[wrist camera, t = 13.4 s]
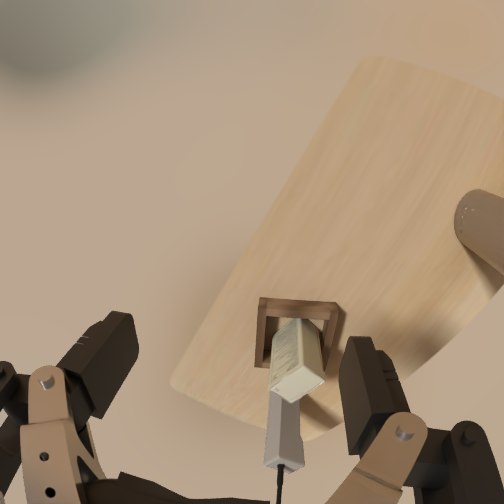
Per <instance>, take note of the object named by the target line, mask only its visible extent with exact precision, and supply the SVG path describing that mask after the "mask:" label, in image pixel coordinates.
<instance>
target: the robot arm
mask: <svg viewBox="0 0 504 504" xmlns="http://www.w3.org/2000/svg"><path fill="white" fill-rule="evenodd" d="M454 226H455V232H456V235H457V237H458V239H459V240H460V242H461V243H462V244H464V245H465V246H466V247H468V248H469V249H470V250H472V251H473V252H474V253H476V254H477V255H478V256H480V257H481V258H482V259H483V260H485V261H486V262H487V263H489V264H490V265H491V266H492V267H494V268H495V269H496V270H497V271H499V272H500V273H501V274H502V275H504V198H502V197H499V196H497V195H494V194H492V193H489V192H486V191H484V190H473V191H470V192H469V193H467V194H466V195H465V196H464V197H463V198H462V200H461V201H460V203H459V205H458V207H457V210H456V213H455V220H454ZM138 353H139V344H138V340H137V335H136V330H135V325H134V320H133V317H132V315H131V314H129V313H123V312H117V311H111V312H110V313H109V315H108V316H107V317H106V318H105V319H104V320H103V321H99V322H97V323H96V324H94V325H92V326H91V327H89V328H88V329H87V331H86V332H85V333H84V334H83V335H82V337H80V338H79V340H78V341H77V343H75V344H74V345H73V346H72V348H71V349H70V350H69V351H68V352H67V354H66V355H65V356H64V357H63V358H62V359H61V361H60V362H59V363H58V364H57V365H56V366H44V367H41V368H39V369H37V370H36V371H35V372H33V374H32V375H24V374H17V373H16V371H15V369H14V367H13V366H12V364H11V363H9V362H6V361H0V411H1V410H2V409H4V410H5V412H6V413H7V415H8V417H7V418H6V420H5V422H4V423H3V424H2V426H1V427H0V504H5V503H4V496H5V494H6V492H7V490H8V488H9V485H10V484H11V482H12V480H13V478H14V476H15V474H16V472H17V470H18V468H19V466H20V464H21V463H22V468H23V478H24V486H25V492H26V498H27V504H270V501H259V500H248V499H238V498H216V499H188V498H185V497H183V496H181V495H179V494H177V493H175V492H172V491H171V490H168V489H167V488H165V487H162V486H161V485H159V484H157V483H155V482H153V481H149V480H145V479H142V478H139V477H136V476H133V475H130V474H127V473H124V472H120V474H119V477H118V479H107V478H106V476H105V474H104V472H103V471H102V469H101V467H100V464H99V461H98V457H97V454H96V450H95V446H94V443H93V439H92V434H91V430H90V425H89V423H88V419H89V417H90V416H93V417H96V418H99V419H102V418H103V416H104V414H105V412H106V411H107V409H108V408H109V406H110V404H111V402H112V401H113V399H114V397H115V395H116V393H117V392H118V390H119V389H120V387H121V385H122V383H123V382H124V380H125V378H126V377H127V375H128V373H129V372H130V370H131V368H132V367H133V365H134V363H135V362H136V360H137V358H138ZM398 380H399V378H398V375H397V373H396V372H395V368H394V365H393V362H392V360H391V359H390V358H389V357H388V356H387V354H386V353H385V352H384V351H383V350H377V351H376V350H375V347H374V344H373V342H372V339H371V337H361V336H350V337H349V338H348V341H347V345H346V348H345V352H344V355H343V359H342V362H341V366H340V370H339V388H340V394H341V400H342V407H343V414H344V421H345V428H346V435H347V443H348V451H349V455H359V456H360V461H359V463H358V464H357V465H356V467H355V468H354V469H353V470H352V471H351V473H350V474H349V475H348V477H347V478H346V479H345V480H344V482H343V483H342V484H341V485H340V486H339V488H338V489H337V490H336V492H335V493H334V494H333V495H332V496H331V497H330V498H329V500H328V501H327V502H326V503H325V504H397V503H398V500H399V499H400V497H401V495H402V492H403V491H402V490H401V488H402V486H408V487H413V489H414V496H415V504H504V488H503V484H502V481H501V477H500V474H499V471H498V468H497V465H496V462H495V459H494V456H493V453H492V450H491V447H490V444H489V442H488V439H487V436H486V434H485V432H484V430H483V429H482V427H481V426H479V425H478V424H477V423H475V422H472V421H461V422H459V423H457V424H456V425H455V426H454V427H453V429H452V430H451V431H447V430H439V429H432V428H428V427H427V426H426V424H425V422H424V421H423V420H422V419H421V418H420V417H418V416H417V415H415V414H413V413H411V412H410V409H409V406H408V403H407V400H406V398H405V395H404V392H403V389H402V387H401V384H400V381H398Z"/></svg>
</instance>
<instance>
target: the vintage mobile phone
mask: <svg viewBox="0 0 504 504" xmlns="http://www.w3.org/2000/svg"><path fill="white" fill-rule="evenodd" d="M301 398H302V397H301ZM301 398H299V399H298V400H296V401H294V402H293V403H289V402H288V401H286V400H284V399H283V398H281V397H279V396H278V395H276V394H275V393H273V392H272V391H270V399H269V410H268V422H267V433H266V443H265V454H264V465H265V466H267V467H270V468H273V469H276V470H278V476H277V486H278V489H277V501H276V504H281V493H282V485H283V473H284V472H286V473H292V472H294V471H296V470H298V469H300V468H302V467H304V466H305V461H304V450H303V441H302V438H301V436H300V400H301Z"/></svg>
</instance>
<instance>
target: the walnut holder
mask: <svg viewBox="0 0 504 504" xmlns="http://www.w3.org/2000/svg"><path fill="white" fill-rule="evenodd" d="M338 315H339V312H338V308H337V305H336V303H335V302H318V301H302V300H288V299H275V298H262V297H260V299H259V305H258V317H257V334H256V350H255V365H254V367H259V368H270V364H271V351H264V341H265V329H266V316H274V317H287V318H302V319H320V320H325V321H324V326H323V331H322V336H321V341H320V347H321V355H322V362H323V370H324V371H325V369H326V365H327V361H328V357H329V353H330V349H331V345H332V341H333V337H334V333H335V328H336V324H337V319H338Z"/></svg>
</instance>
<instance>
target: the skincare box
mask: <svg viewBox="0 0 504 504" xmlns="http://www.w3.org/2000/svg"><path fill="white" fill-rule="evenodd" d="M323 382H325V377H324V370H323V362H322V355H321V347H320V340H319V333H318V328H317V327H316V326H315V325H313V324H312V323H311V322H310V321H309V320H308V319H302V318H293V319H292V320H291V321H290V322H288V323H287V324H286V325H285V326H283V327H282V328H281V329H280V330H279V331H277V332H276V333H275V334H274V335H273V338H272V351H271V364H270V376H269V387H268V389H269V390H270V391H272V392H273V393H275V394H276V395H278V396H279V397H281V398H283V399H284V400H286V401H288V402H289V403H293V402H294V401H296V400H298V399H299V398H301V397H303V396H304V395H306V394H307V393H309V392H310V391H312V390H313V389H315V388H316V387H318V386H319V385H321V384H322V383H323Z"/></svg>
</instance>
